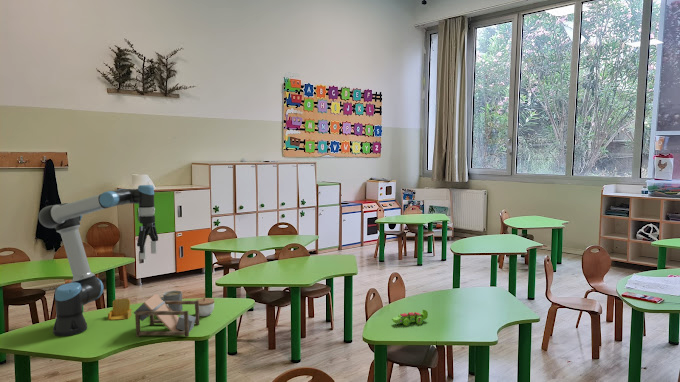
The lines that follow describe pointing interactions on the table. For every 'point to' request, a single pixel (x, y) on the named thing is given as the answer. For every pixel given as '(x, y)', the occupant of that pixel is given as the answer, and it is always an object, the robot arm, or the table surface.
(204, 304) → the lidded jar
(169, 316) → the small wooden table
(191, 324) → the slate block
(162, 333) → the stand
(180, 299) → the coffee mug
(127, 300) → the yellow toy armchair
